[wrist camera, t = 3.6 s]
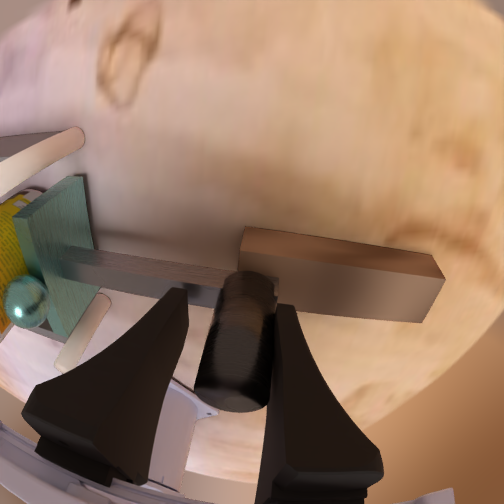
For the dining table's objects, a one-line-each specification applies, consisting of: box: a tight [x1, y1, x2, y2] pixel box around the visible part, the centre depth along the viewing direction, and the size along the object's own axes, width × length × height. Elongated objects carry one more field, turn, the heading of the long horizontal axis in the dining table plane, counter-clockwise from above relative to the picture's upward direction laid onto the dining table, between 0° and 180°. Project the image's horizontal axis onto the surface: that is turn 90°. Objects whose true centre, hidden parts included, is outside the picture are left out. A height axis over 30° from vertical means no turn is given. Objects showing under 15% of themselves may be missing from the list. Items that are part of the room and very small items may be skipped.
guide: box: [238, 226, 446, 323], centre depth 15 cm, size 10×3×2 cm, turn 84°
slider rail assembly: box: [3, 176, 279, 413], centre depth 12 cm, size 12×7×8 cm, turn 84°
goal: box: [0, 127, 111, 374], centre depth 13 cm, size 9×12×6 cm
